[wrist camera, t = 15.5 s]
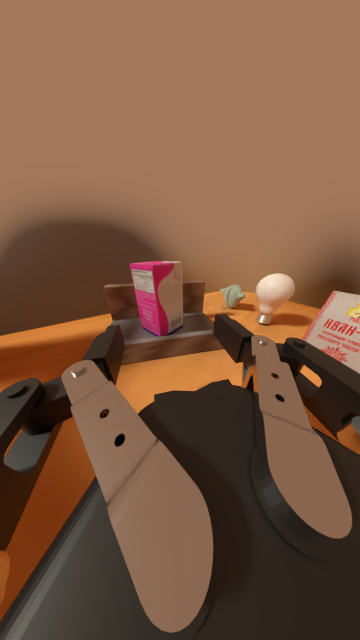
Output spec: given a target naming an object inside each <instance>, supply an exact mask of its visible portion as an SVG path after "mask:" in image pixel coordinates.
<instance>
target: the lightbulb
mask: <svg viewBox="0 0 360 640" xmlns="http://www.w3.org/2000/svg"><path fill="white" fill-rule="evenodd" d="M294 290H295V284H294V282H293V280H292V279H291V278H290V277H289V276H287V275H285V274H280V273H276V274H271V275H268V276H266V277H264V278H263V279H262V280H261V281H260V282H259V283H258V285H257V287H256V296H257V299H258V301H259V315H258V317H257V321H258V322H259V323H261V324H269V323H270V321H271V318H272V316H273V313H275V312H276V310H277V309H278V307H279V306H281V305H282V304H284V303H285V302H286V301H288V300H289V299H290V298H291V297H292V295H293V293H294Z"/></svg>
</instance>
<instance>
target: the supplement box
mask: <svg viewBox="0 0 360 640" xmlns="http://www.w3.org/2000/svg"><path fill="white" fill-rule="evenodd" d="M130 267H131V273H132V278H133V283H134V289H135V294H136V299H137V304H138V309H139V315H140V320H141V325H142V328H143V329H144V330H146V331H148V332H150V333H151V334H153V335H155V336H156V337H159V336H167V335H170V334H172V333H174V332H175V331H177V330H179V329H180V328H182V327H183V286H182V262H167V261H156V262H155V261H154V262H143V263H132V264H130Z"/></svg>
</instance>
